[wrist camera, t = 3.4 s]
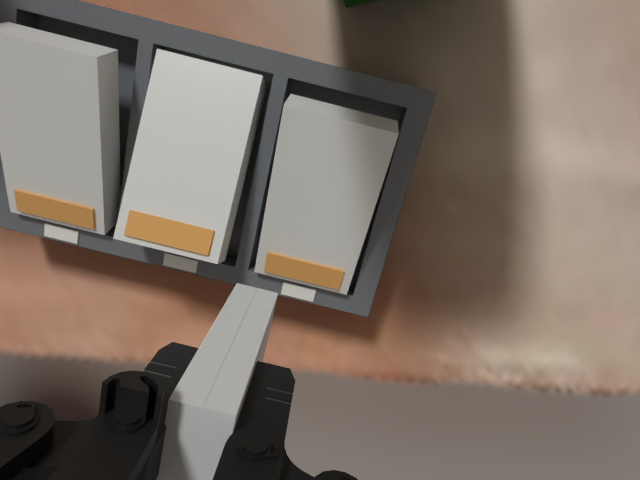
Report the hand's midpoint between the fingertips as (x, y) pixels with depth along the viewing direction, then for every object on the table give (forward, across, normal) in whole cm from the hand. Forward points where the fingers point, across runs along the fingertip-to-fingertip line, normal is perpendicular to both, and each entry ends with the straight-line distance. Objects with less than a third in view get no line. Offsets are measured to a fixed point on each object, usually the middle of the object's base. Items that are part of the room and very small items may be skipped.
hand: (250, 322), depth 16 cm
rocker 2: (+8, -5, +4) cm, 10 cm away
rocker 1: (+8, -12, +4) cm, 15 cm away
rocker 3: (+8, +1, +3) cm, 9 cm away
